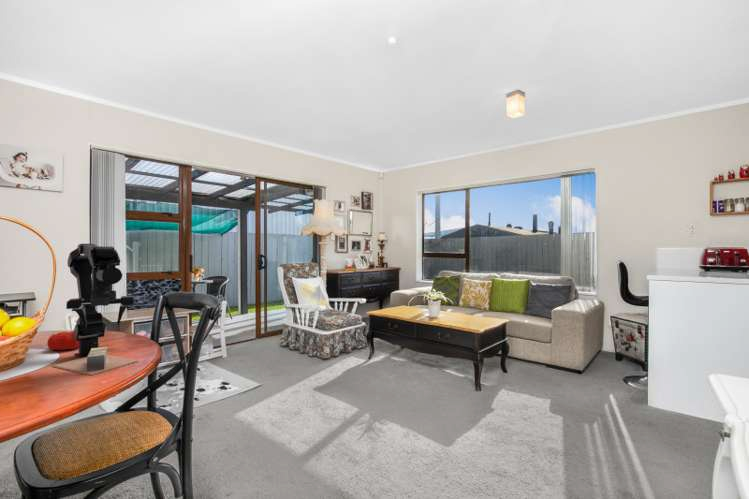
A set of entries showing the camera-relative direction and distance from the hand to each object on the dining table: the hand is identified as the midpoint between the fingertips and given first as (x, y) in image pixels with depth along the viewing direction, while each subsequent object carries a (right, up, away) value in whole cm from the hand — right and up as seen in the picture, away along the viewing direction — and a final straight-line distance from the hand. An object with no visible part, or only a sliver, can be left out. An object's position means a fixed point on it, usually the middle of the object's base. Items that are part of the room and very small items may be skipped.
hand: (102, 326), depth 127 cm
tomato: (-27, -13, +17) cm, 34 cm away
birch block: (-2, -10, +2) cm, 11 cm away
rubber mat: (-1, -13, -1) cm, 13 cm away
